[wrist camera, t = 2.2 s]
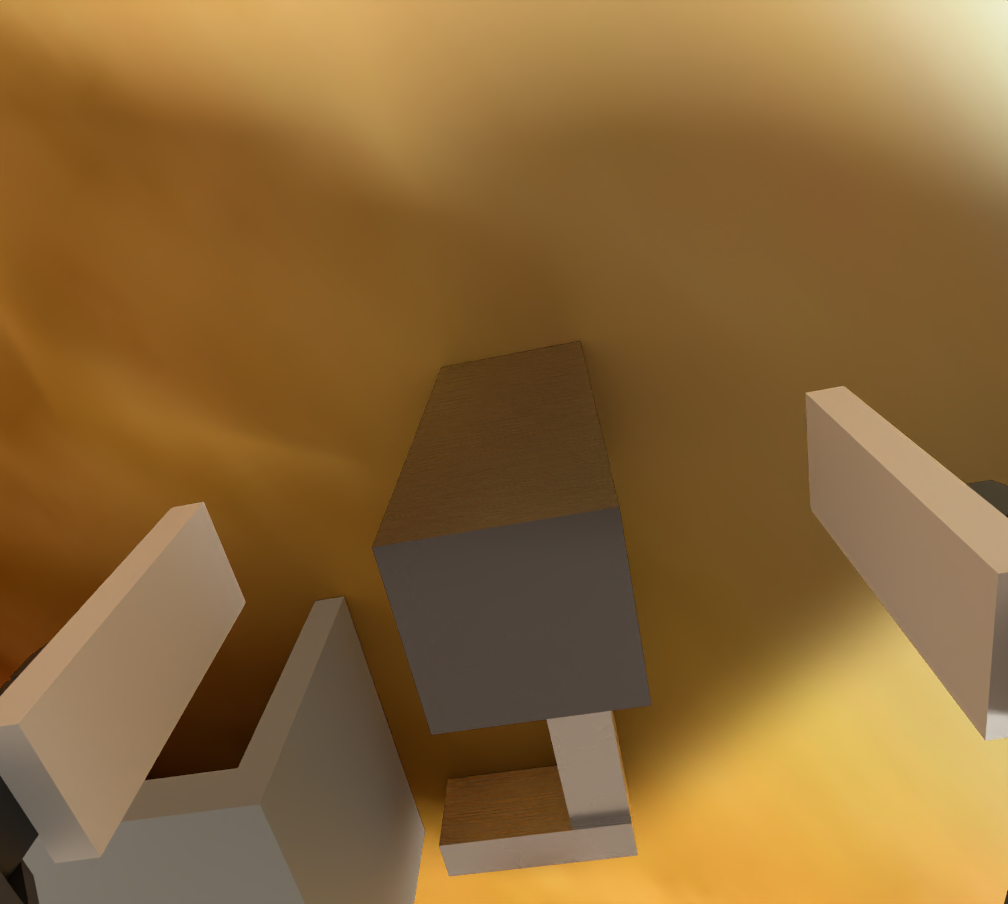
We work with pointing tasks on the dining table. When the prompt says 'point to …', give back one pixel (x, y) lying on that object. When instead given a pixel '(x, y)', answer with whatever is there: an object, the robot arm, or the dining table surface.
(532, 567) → the grey block with rod
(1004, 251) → the dining table surface
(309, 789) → the cubby
